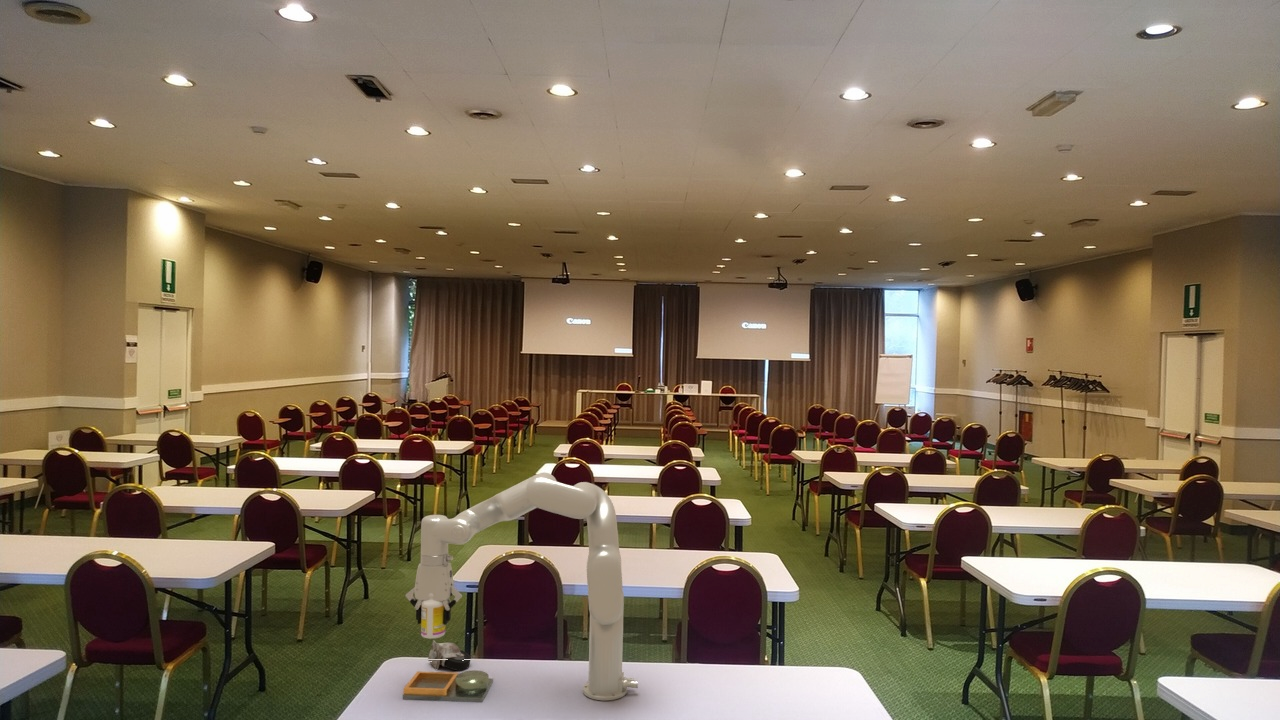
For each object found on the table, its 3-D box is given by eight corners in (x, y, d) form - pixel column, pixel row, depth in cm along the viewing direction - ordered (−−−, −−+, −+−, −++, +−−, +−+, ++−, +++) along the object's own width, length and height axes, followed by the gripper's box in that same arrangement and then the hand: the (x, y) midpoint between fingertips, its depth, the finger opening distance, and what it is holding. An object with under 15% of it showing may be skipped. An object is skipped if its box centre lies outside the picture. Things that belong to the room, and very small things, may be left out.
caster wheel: (471, 675, 235) (442, 679, 228) (454, 656, 243) (426, 659, 237) (477, 654, 235) (448, 657, 228) (460, 637, 243) (431, 639, 236)
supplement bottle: (448, 631, 221) (449, 587, 221) (440, 640, 214) (441, 593, 214) (426, 630, 222) (426, 586, 222) (417, 638, 215) (417, 592, 215)
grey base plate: (492, 682, 224) (493, 668, 224) (482, 702, 211) (482, 686, 211) (418, 680, 225) (418, 665, 225) (402, 699, 212) (403, 684, 212)
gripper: (468, 557, 222) (467, 619, 222) (408, 555, 222) (407, 617, 222) (461, 563, 214) (460, 628, 214) (399, 562, 215) (398, 626, 215)
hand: (433, 622), depth 218 cm, fingers closed on supplement bottle, 6 cm apart
